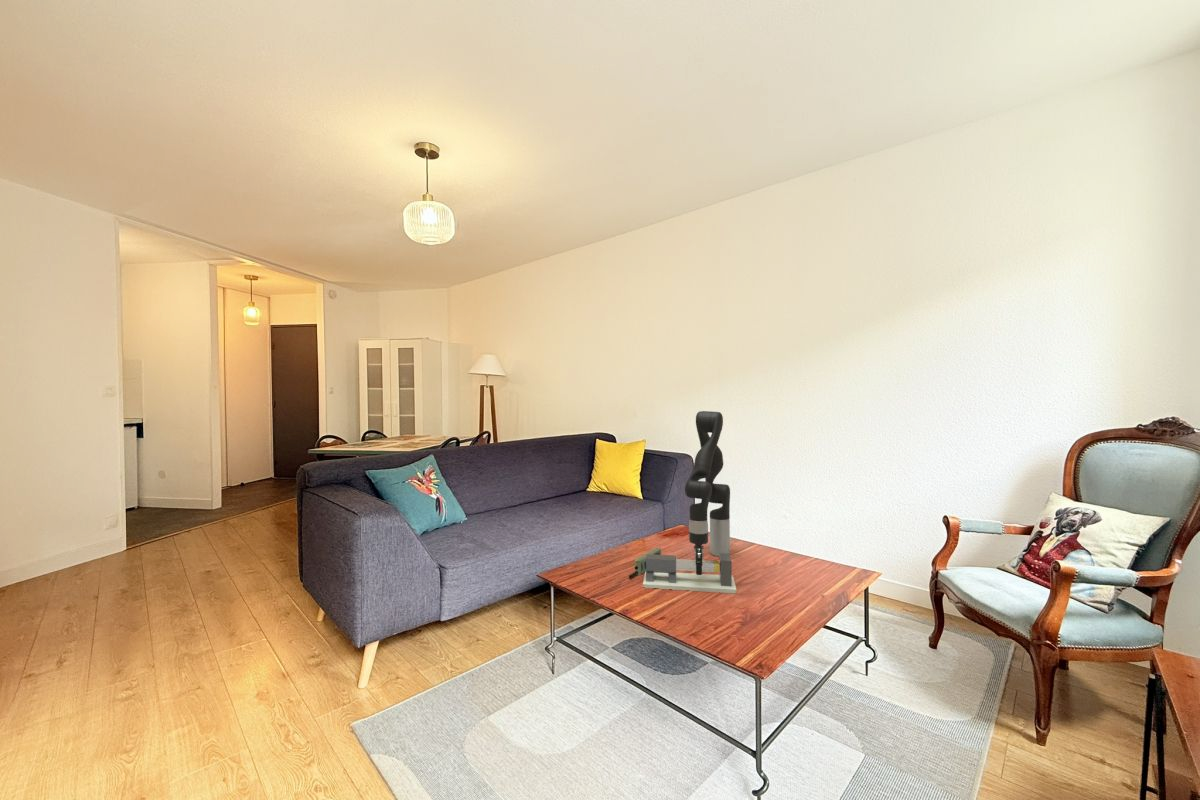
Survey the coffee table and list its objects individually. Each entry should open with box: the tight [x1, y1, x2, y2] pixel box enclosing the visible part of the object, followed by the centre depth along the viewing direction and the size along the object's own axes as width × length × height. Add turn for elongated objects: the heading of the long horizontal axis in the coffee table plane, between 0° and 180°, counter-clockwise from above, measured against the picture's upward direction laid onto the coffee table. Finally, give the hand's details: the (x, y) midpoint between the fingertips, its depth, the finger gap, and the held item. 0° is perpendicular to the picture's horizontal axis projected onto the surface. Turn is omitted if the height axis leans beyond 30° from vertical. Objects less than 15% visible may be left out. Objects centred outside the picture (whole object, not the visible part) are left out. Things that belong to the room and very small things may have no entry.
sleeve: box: [646, 554, 677, 583], centre depth 195 cm, size 8×12×9 cm, turn 80°
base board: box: [642, 572, 738, 594], centre depth 193 cm, size 14×36×2 cm, turn 80°
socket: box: [719, 553, 733, 586], centre depth 190 cm, size 8×4×10 cm, turn 170°
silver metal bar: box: [676, 558, 720, 574], centre depth 193 cm, size 3×24×3 cm, turn 80°
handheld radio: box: [628, 547, 662, 579], centre depth 208 cm, size 7×3×25 cm
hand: (698, 572), depth 192 cm, fingers closed on silver metal bar, 3 cm apart
